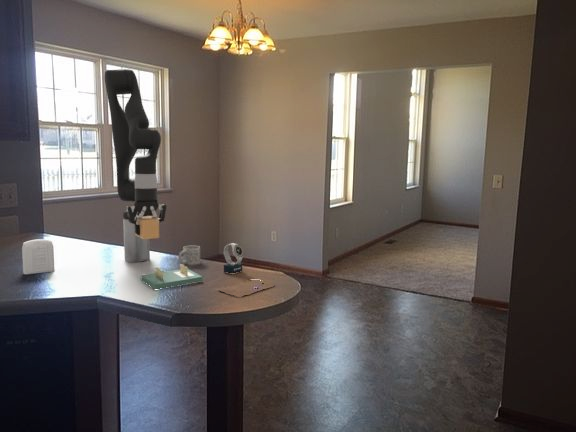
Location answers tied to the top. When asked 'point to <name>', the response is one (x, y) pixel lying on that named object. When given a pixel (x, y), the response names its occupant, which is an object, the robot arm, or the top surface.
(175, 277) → the header board
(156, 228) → the block
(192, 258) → the mug
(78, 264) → the top surface
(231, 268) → the watch
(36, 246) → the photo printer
